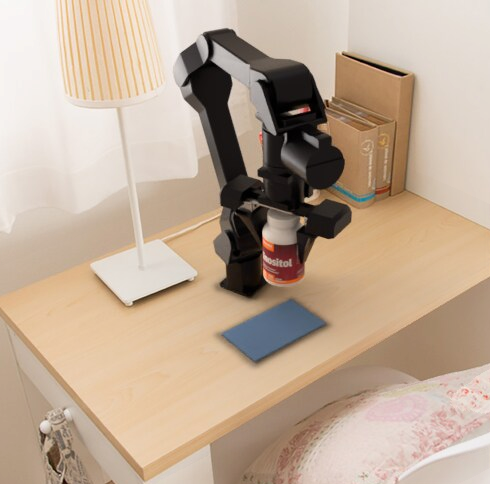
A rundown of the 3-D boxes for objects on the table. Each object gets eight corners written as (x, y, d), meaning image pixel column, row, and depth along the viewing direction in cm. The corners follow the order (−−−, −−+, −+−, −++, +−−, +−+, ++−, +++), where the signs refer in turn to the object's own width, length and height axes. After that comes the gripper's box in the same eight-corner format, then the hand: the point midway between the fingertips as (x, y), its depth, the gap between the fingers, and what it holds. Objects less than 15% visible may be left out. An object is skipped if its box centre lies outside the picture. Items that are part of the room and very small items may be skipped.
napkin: (255, 362, 110) (255, 360, 109) (221, 335, 115) (221, 333, 115) (325, 324, 117) (325, 322, 116) (291, 300, 122) (291, 298, 122)
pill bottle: (255, 282, 111) (253, 217, 104) (274, 262, 115) (273, 198, 109) (294, 292, 108) (294, 226, 102) (311, 271, 113) (312, 206, 106)
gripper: (373, 151, 102) (366, 248, 111) (258, 124, 110) (261, 216, 119) (333, 184, 94) (329, 285, 103) (214, 152, 103) (220, 248, 112)
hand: (284, 256), depth 110 cm, fingers closed on pill bottle, 6 cm apart
